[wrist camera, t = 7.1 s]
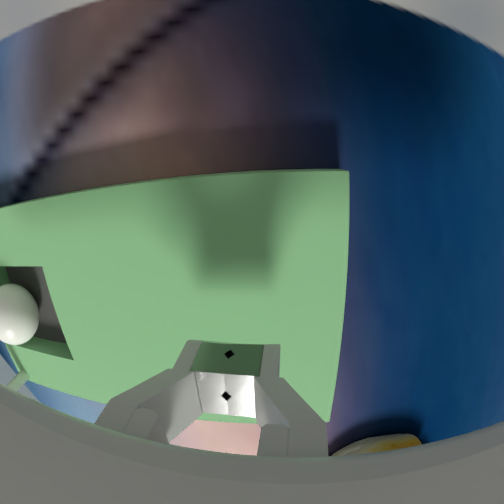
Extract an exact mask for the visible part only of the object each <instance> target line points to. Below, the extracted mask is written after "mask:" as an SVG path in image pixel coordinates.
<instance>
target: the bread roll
mask: <svg viewBox="0 0 504 504" xmlns="http://www.w3.org/2000/svg"><path fill="white" fill-rule="evenodd" d="M418 445H422V444H421V442H420V440H419V439H418V438H417V437H416V436H414V435H412V434H391V435H383V436H376V437H369V438H365V439H362V440H360V441H357V442H354V443H351V444H349V445H348V446H346V447H344V448H342V449H340V450H339V451H337V452H335V453H334V454H333V455H332V456H343V455H355V454H365V453H374V452H382V451H389V450H395V449H401V448H407V447H412V446H418Z"/></svg>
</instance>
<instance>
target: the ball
mask: <svg viewBox="0 0 504 504" xmlns="http://www.w3.org/2000/svg"><path fill="white" fill-rule="evenodd" d="M38 324H39V310H38V306H37V303H36V301H35V299H34V297H33V296H32V295H31V293H30V292H29V291H28V290H27V289H25V288H24V287H22V286H20V285H17V284H4V285H2V286H0V340H1V341H3V342H5V343H7V344H11V345H20V344H23V343H25V342H27V341H28V340H30V339H31V338H32V337H33V335H34V334H35V332H36V330H37V328H38Z"/></svg>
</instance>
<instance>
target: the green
mask: <svg viewBox="0 0 504 504" xmlns="http://www.w3.org/2000/svg"><path fill="white" fill-rule="evenodd" d="M348 241H349V171H346V170H342V169H288V170H262V171H243V172H227V173H214V174H202V175H191V176H180V177H171V178H162V179H153V180H145V181H137V182H130V183H123V184H116V185H109V186H102V187H96V188H90V189H84V190H79V191H73V192H67V193H62V194H57V195H52V196H47V197H42V198H37V199H33V200H28V201H24V202H19V203H15V204H11V205H7V206H3V207H0V286H2V285H4V284H17V285H20V286H22V287H24V288H25V289H27V290H28V291H29V292H30V293H31V295H32V296H33V297H34V299H35V301H36V303H37V306H38V310H39V324H38V328H37V330H36V332H35V334H34V335H33V337H32V338H31V339H30V340H28V341H27V342H25V343H23V344H20V345H11V344H7V343H5V345H6V347H7V349H8V351H9V353H10V356H11V358H12V360H13V362H14V364H15V366H16V368H17V370H18V372H19V373H18V374H17V375H16V376H15V377H14V378H13V379H12V380H11V381H10V382H9V383H8V384H7V387H9V388H11V389H13V390H15V391H18V390H19V388H20V387H21V386H22V385H23V384H24V383H25V382H26V381H27V380H29V381H32V382H34V383H37V384H40V385H43V386H46V387H49V388H52V389H55V390H58V391H61V392H64V393H67V394H71V395H74V396H78V397H81V398H85V399H89V400H92V401H96V402H100V403H104V404H107V403H108V402H109V400H110V399H111V398H113V397H115V396H117V395H119V394H121V393H123V392H125V391H127V390H129V389H131V388H133V387H134V386H136V385H138V384H140V383H142V382H144V381H146V380H148V379H150V378H151V377H153V376H155V375H157V374H159V373H161V372H163V371H164V370H166V369H172V368H173V366H174V364H175V363H176V361H177V359H178V357H179V355H180V353H181V351H182V349H183V347H184V345H185V343H186V341H187V340H189V339H194V340H203V341H204V340H205V341H216V342H228V343H239V344H280V345H281V351H280V377H281V378H284V379H285V380H286V381H287V382H288V383H289V384H290V385H291V386H292V388H293V389H294V390H295V391H296V392H297V393H298V394H299V395H300V396H301V397H302V398H303V399H304V401H305V402H306V403H307V404H308V405H309V406H310V407H311V408H312V409H313V410H314V411H315V412H316V413H317V414H318V415H319V416H320V417H321V418H322V420H323V421H324V422H329V420H330V414H331V409H332V403H333V397H334V390H335V384H336V377H337V370H338V362H339V355H340V346H341V338H342V328H343V318H344V307H345V295H346V281H347V264H348ZM197 420H207V421H219V422H234V423H258V422H257V421H256V419H255V418H254V417H243V416H233V415H222V414H211V413H202V415H201V416H200V417H198V418H197Z"/></svg>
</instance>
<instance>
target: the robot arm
mask: <svg viewBox="0 0 504 504" xmlns="http://www.w3.org/2000/svg"><path fill="white" fill-rule="evenodd" d="M280 351H281V345H280V344H239V343H228V342H216V341H205V340H204V341H203V340H194V339H189V340H187V341H186V343H185V345H184V347H183V349H182V351H181V353H180V355H179V357H178V359H177V361H176V363H175V364H174V366H173V368H172V369H166V370H164V371H163V372H161V373H159V374H157V375H155V376H153V377H151V378H150V379H148V380H146V381H144V382H142V383H140V384H138V385H136V386H134V387H133V388H131V389H129V390H127V391H125V392H123V393H121V394H119V395H117V396H115V397H113V398H111V399H110V400H109V402H108V403H107V405H106V406H105V408H104V410H103V411H102V413H101V414H100V416H99V417H98V419H97V420H96V422H95V423H94V424H93V423H90V422H87V421H84V420H81V419H78V418H76V417H73V416H70V415H68V414H65V413H63V412H60V411H58V410H55V409H53V408H51V407H48V406H46V405H44V404H42V403H39V402H37V401H35V400H33V399H31V398H28V397H27V396H25V395H23V394H20V393H18V392H17V391H15V390H13V389H11V388H9V387H7V386H5V385H3V384H1V383H0V504H504V421H502V422H499V423H496V424H494V425H491V426H488V427H485V428H482V429H479V430H476V431H473V432H469V433H466V434H463V435H459V436H456V437H452V438H448V439H444V440H440V441H436V442H432V443H427V444H422V445H418V446H412V447H407V448H401V449H395V450H389V451H382V452H374V453H365V454H355V455H343V456H328V443H327V430H326V423H325V422H324V421H323V420H322V418H321V417H320V416H319V415H318V414H317V413H316V412H315V411H314V410H313V409H312V408H311V407H310V406H309V405H308V404H307V403H306V402H305V401H304V399H303V398H302V397H301V396H300V395H299V394H298V393H297V392H296V391H295V390H294V389H293V388H292V386H291V385H290V384H289V383H288V382H287V381H286V380H285V379H284V378H281V377H280ZM202 413H211V414H222V415H233V416H243V417H254V418H255V419H256V421H257V422H258V424H259V426H260V427H261V433H260V440H259V446H258V453H257V456H253V455H240V454H230V453H221V452H213V451H206V450H199V449H193V448H187V447H181V446H176V445H171V444H169V442H170V441H171V440H172V439H174V438H175V437H176V436H177V435H178V434H180V433H181V432H182V431H183V430H184V429H186V428H187V427H188V426H189V425H190V424H191V423H193V422H194V421H195V420H196V419H197V418H198V417H200V416H201V415H202Z"/></svg>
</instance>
